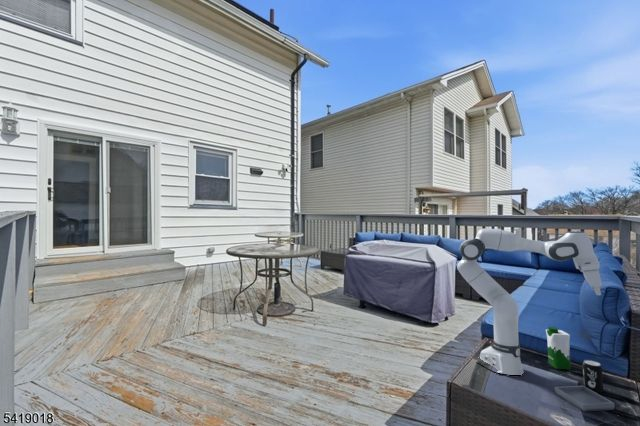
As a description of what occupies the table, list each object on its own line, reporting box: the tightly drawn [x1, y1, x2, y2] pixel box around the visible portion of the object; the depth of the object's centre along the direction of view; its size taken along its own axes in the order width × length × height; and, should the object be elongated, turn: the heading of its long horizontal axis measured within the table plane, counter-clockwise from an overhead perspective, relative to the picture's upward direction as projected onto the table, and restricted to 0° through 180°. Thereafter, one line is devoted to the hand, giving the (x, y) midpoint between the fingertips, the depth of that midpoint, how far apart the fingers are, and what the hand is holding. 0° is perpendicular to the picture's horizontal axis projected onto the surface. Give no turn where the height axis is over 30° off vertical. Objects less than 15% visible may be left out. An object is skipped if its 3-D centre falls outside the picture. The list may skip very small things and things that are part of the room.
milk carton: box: [545, 326, 572, 370], centre depth 160 cm, size 9×9×20 cm
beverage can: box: [582, 359, 604, 394], centre depth 137 cm, size 7×7×12 cm
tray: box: [554, 385, 616, 412], centre depth 128 cm, size 14×14×3 cm
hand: (596, 292), depth 142 cm, fingers open, 8 cm apart
